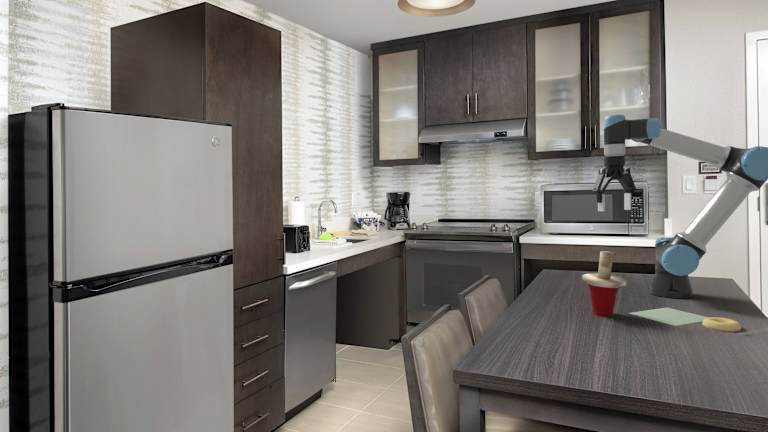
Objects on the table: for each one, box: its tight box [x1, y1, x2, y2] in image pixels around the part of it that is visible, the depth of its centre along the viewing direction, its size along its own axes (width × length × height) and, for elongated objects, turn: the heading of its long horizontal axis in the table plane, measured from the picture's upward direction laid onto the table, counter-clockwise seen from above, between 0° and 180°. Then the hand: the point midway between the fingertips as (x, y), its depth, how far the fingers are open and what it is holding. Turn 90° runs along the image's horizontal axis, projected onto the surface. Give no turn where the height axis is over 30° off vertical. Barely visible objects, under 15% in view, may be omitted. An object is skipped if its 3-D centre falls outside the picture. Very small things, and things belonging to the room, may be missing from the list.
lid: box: [581, 250, 628, 288], centre depth 177 cm, size 14×14×10 cm
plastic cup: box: [586, 282, 620, 317], centre depth 178 cm, size 11×11×12 cm
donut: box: [701, 316, 742, 333], centre depth 159 cm, size 10×5×9 cm
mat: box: [628, 307, 710, 327], centre depth 173 cm, size 18×18×1 cm
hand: (614, 210), depth 203 cm, fingers open, 13 cm apart
